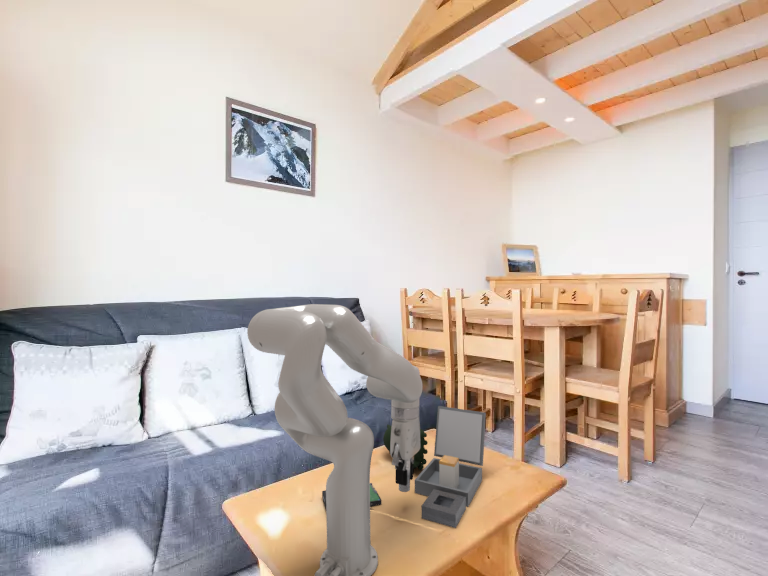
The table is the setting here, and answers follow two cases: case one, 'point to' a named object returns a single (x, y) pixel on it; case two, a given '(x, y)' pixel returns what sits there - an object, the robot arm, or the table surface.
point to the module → (449, 471)
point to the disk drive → (374, 497)
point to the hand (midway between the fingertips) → (404, 480)
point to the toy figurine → (419, 456)
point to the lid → (460, 434)
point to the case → (430, 480)
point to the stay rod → (407, 487)
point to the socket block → (444, 508)
